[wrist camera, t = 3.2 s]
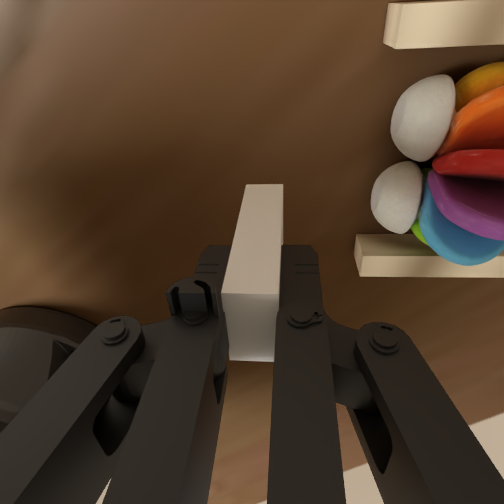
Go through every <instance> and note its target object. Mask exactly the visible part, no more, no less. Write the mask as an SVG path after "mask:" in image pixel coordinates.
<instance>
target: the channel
mask: <svg viewBox="0 0 504 504" xmlns="http://www.w3.org/2000/svg"><path fill="white" fill-rule="evenodd" d="M383 43H384V44H386V45H388V46H390V47H392V48H394V49H411V48H432V47H454V46H476V45H498V44H504V0H434V1H416V2H398V3H388V10H387V17H386V24H385V31H384V38H383ZM354 257H355V261H356V264H357V268H358V272H359V275H360V277H485V278H504V250H503V251H502V252H501V253H500V254H499V255H498V256H496V257H495V258H493V259H492V260H490V261H488V262H485V263H482V264H479V265H474V266H464V265H459V264H455V263H452V262H450V261H448V260H446V259H444V258H442V257H441V256H440V255H438V254H437V253H436V252H435V251H434V250H433V249H432V248H431V247H430V246H428V245H426V244H425V243H423V242H422V241H421V240H419V239H418V238H417V237H416V235H415V234H356V240H355V247H354Z"/></svg>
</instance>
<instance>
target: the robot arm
mask: <svg viewBox="0 0 504 504" xmlns="http://www.w3.org/2000/svg"><path fill="white" fill-rule="evenodd" d="M166 296H167V300H168V304H169V308H170V312H171V317H170V318H168V319H166V320H163V321H160V322H156V323H151V324H147V325H142V326H141V325H140V323H139V322H138V321H137V319H135V318H133V317H130V316H117V317H113V318H110V319H108V320H106V321H104V322H102V323H101V324H99V325H98V326H97V327H96V326H94V325H93V324H91V323H89V322H87V321H84V320H82V319H80V318H77V317H75V316H72V315H69V314H66V313H63V312H59V311H55V310H50V309H45V308H37V307H14V308H8V309H3V310H0V504H96V502H97V500H98V499H99V497H100V495H101V494H102V492H103V490H104V489H105V487H106V485H107V484H108V482H109V480H110V479H111V481H110V484H109V486H108V489H107V492H106V495H105V497H104V500H103V503H102V504H207V501H208V495H209V489H210V483H211V477H212V470H213V464H214V458H215V452H216V446H217V439H218V433H219V427H220V421H221V415H222V408H223V402H224V396H225V390H226V384H227V377H228V374H227V365H226V363H227V358H228V352H229V358H230V360H238V361H262V362H274V371H273V391H272V411H271V431H270V451H269V472H268V492H267V504H346V498H345V488H344V479H343V469H342V460H341V450H340V441H339V431H338V422H337V412H336V403H335V402H337V403H339V404H342V405H345V406H346V407H347V410H348V413H349V415H350V418H351V420H352V423H353V426H354V428H355V431H356V433H357V436H358V438H359V441H360V443H361V446H362V448H363V451H364V454H365V456H366V459H367V461H368V464H369V466H370V469H371V471H372V474H373V476H374V479H375V482H376V484H377V487H378V489H379V492H380V494H381V497H382V499H383V502H384V504H504V479H503V478H502V476H501V475H500V473H499V472H498V470H497V469H496V467H495V466H494V464H493V463H492V461H491V460H490V458H489V457H488V455H487V454H486V452H485V451H484V449H483V447H482V446H481V444H480V443H479V441H478V440H477V439H476V437H475V436H474V434H473V432H472V431H471V430H470V428H469V426H468V425H467V423H466V422H465V420H464V419H463V417H462V416H461V414H460V413H459V411H458V410H457V408H456V407H455V405H454V404H453V402H452V401H451V399H450V398H449V396H448V395H447V393H446V392H445V390H444V389H443V387H442V385H441V384H440V382H439V381H438V379H437V378H436V376H435V375H434V373H433V372H432V370H431V369H430V367H429V366H428V364H427V363H426V361H425V360H424V358H423V357H422V355H421V354H420V352H419V351H418V349H417V348H416V346H415V345H414V343H413V342H412V340H411V339H410V337H409V336H408V335H407V334H406V333H405V332H404V331H403V330H401V329H399V328H398V327H396V326H394V325H391V324H388V323H384V322H372V323H369V324H366V325H364V326H363V327H361V328H360V329H359V330H355V329H352V328H348V327H345V326H343V325H340V324H338V323H336V322H334V321H333V320H332V319H330V318H329V317H328V316H327V314H326V313H325V311H324V309H323V305H322V295H321V285H320V275H319V266H318V255H317V253H316V252H315V251H314V249H313V248H312V247H311V245H283V184H246V188H245V192H244V196H243V200H242V205H241V209H240V213H239V218H238V222H237V226H236V231H235V235H234V239H233V243H232V246H223V245H209V246H208V247H207V248H206V249H205V250H204V251H203V252H202V253H201V255H200V258H199V261H198V265H197V267H196V269H195V274H194V275H193V277H188V278H184V279H181V280H179V281H177V282H175V283H174V284H172V285H171V286H170V287H169V288H168V290H167V291H166ZM112 475H113V476H112ZM111 477H112V478H111Z"/></svg>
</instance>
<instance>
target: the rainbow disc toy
mask: <svg viewBox="0 0 504 504" xmlns="http://www.w3.org/2000/svg"><path fill="white" fill-rule="evenodd" d="M391 136H392V139H393V142H394V143H395V145H396V147H397V148H398V149H399V151H400V152H401V153H403V154H404V155H405V156H407V157H408V158H410V159H412V160H415V161H419V162H424V161H427V160H429V159H430V158H432V157H434V156H436V155H437V157H436V158H434V160H433V162H432V166H433V169H432V168H425V169H421V170H420V168H419V167H418V165H417V164H416V163H415V162H413V161H405V162H400V163H397V164H395V165H392V166H390V167H389V168H387V169H386V170H385V171H384V172H382V173H381V174H380V175H379V177H378V178H377V179H376V181H375V183H374V185H373V189H372V194H371V210H372V213H373V215H374V217H375V218H376V220H377V221H378V222H379V223H380V224H381V225H382V226H383V227H384V228H386V229H387V230H389V231H392V232H394V233H398V234H403V233H405V232H407V231H408V230H409V229H410V228H411V229H412V231H413V233H414V234H415V235H416V237H417V238H418V239H419V240H421V241H422V242H423V243H425V244H426V245H428V246H430V247H431V248H432V249H433V250H434V251H435V252H436V253H437V254H438V255H440V256H441V257H442V258H444V259H446V260H448V261H450V262H452V263H455V264H459V265H464V266H474V265H479V264H482V263H485V262H488V261H490V260H492V259H493V258H495V257H496V256H498V255H499V254H500V253H501V252H502V251H503V250H504V62H495V63H491V64H487V65H484V66H481V67H479V68H477V69H475V70H473V71H471V72H470V73H468V74H467V75H465V76H464V77H463V78H461V79H460V80H459V81H458V82H457V83H456V84H455V85H454V82H453V80H452V78H451V77H450V76H448V75H444V74H440V75H434V76H430V77H426V78H424V79H421V80H420V81H418V82H416V83H414V84H413V85H412V86H410V87H409V88H408V89H407V90H406V91H405V92H404V93H403V94H402V95H401V97H400V98H399V100H398V101H397V104H396V106H395V108H394V111H393V115H392V120H391Z"/></svg>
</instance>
